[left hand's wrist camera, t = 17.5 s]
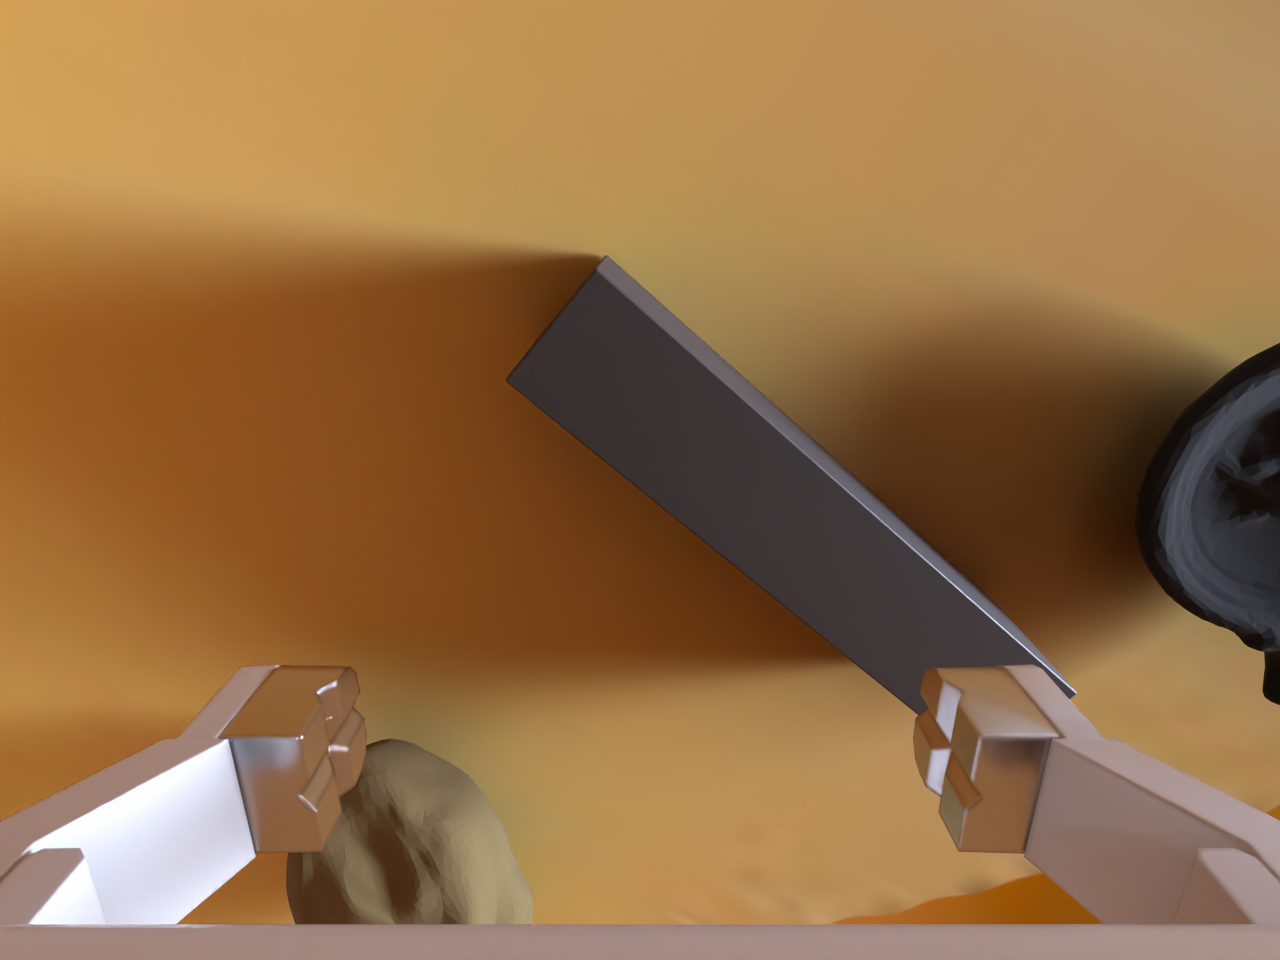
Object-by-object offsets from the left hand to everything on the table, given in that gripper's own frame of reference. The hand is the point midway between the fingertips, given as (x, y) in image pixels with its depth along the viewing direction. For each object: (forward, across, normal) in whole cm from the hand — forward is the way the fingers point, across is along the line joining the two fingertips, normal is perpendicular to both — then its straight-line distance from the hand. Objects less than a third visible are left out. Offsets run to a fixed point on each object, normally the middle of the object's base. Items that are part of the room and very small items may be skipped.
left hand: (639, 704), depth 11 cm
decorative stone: (+25, -12, -26) cm, 38 cm away
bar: (+25, +7, -6) cm, 27 cm away
